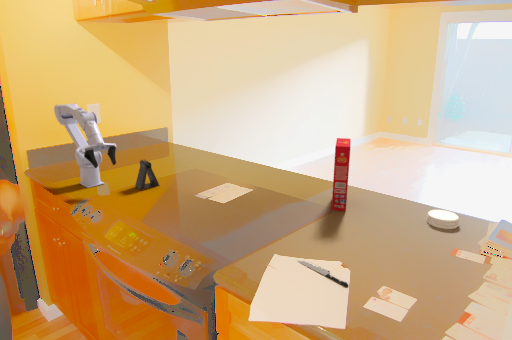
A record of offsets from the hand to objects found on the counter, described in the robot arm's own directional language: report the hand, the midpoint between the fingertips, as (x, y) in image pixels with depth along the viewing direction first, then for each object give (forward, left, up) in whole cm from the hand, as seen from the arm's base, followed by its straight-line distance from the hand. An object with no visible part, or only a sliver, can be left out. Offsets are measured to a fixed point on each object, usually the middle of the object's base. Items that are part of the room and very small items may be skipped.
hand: (105, 165), depth 156 cm
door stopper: (+2, +17, -13) cm, 21 cm away
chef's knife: (+99, +13, -13) cm, 101 cm away
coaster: (+112, +68, -13) cm, 132 cm away
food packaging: (+76, +59, -13) cm, 97 cm away
